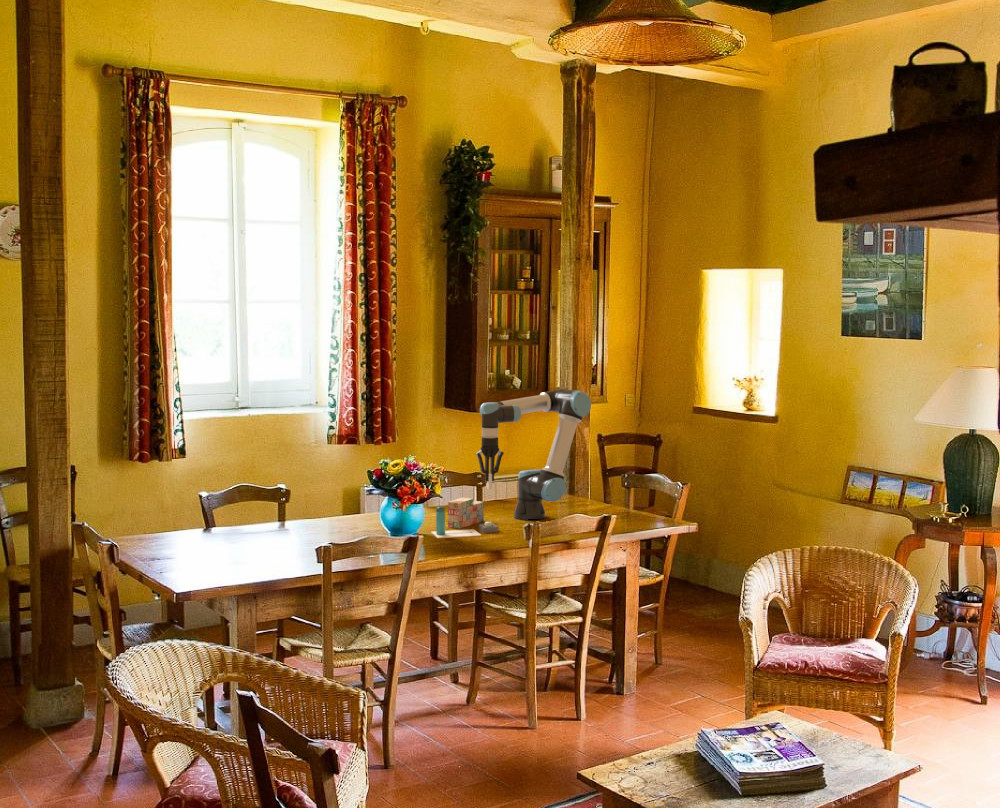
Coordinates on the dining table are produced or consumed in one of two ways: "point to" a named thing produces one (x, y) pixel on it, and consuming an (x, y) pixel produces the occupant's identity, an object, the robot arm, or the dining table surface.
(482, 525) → the block
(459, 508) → the stack of blocks
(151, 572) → the dining table surface
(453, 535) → the sheet
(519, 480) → the robot arm
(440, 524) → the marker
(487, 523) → the button
